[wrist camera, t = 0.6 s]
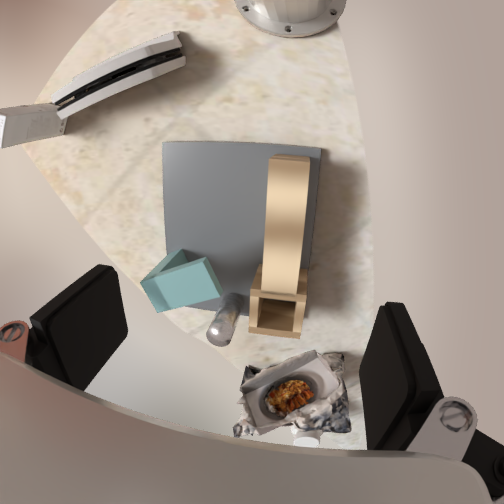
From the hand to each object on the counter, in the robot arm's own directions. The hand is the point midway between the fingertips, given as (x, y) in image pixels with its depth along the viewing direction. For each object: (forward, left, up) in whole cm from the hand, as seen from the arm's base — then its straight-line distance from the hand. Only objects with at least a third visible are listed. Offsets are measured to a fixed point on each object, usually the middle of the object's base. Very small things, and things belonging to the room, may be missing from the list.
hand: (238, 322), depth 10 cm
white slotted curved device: (-13, -21, -26) cm, 36 cm away
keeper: (+10, -10, -24) cm, 28 cm away
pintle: (+16, -6, -24) cm, 30 cm away
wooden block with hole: (+6, 0, -24) cm, 25 cm away
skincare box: (-9, -35, -26) cm, 44 cm away
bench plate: (+7, -6, -26) cm, 27 cm away
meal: (+27, +4, -26) cm, 37 cm away
